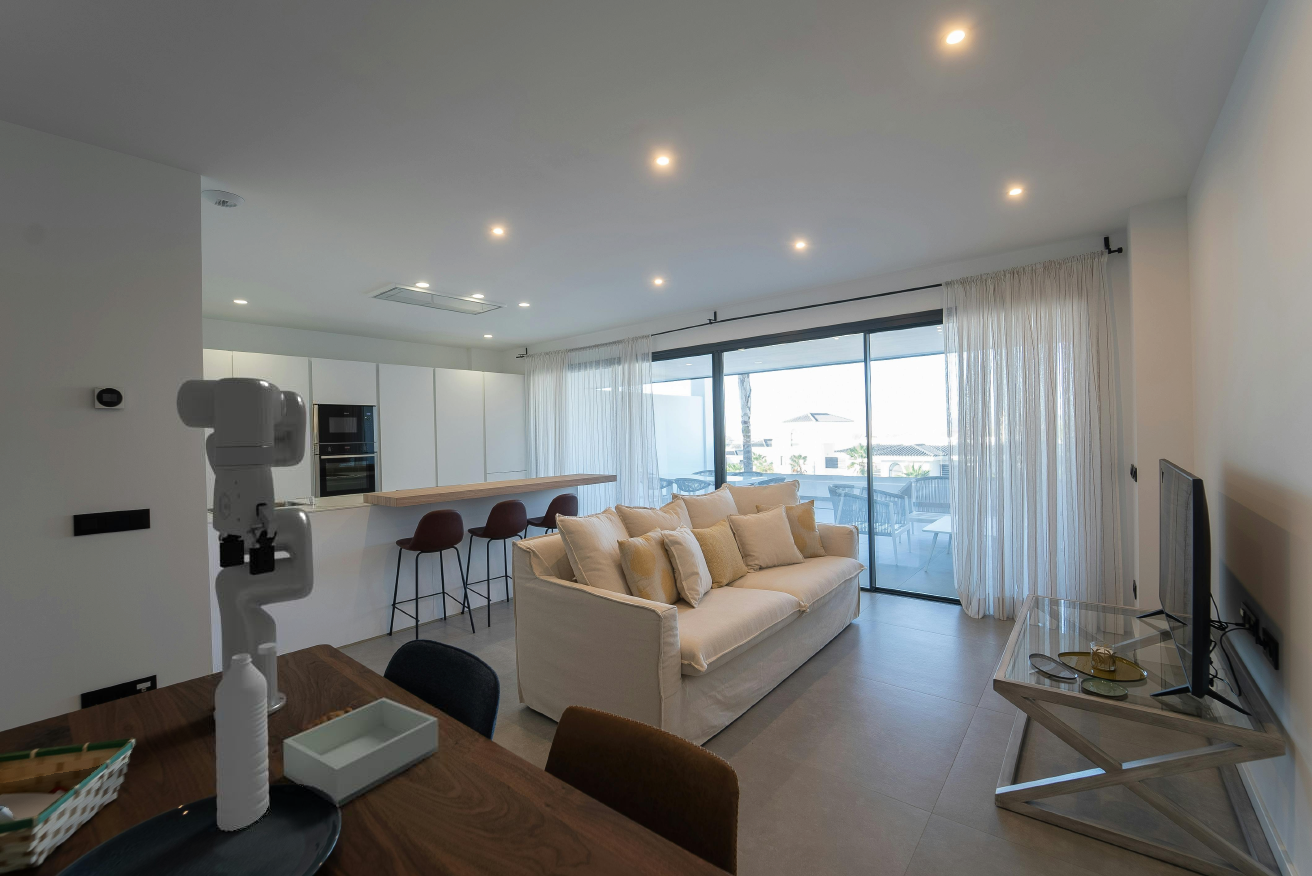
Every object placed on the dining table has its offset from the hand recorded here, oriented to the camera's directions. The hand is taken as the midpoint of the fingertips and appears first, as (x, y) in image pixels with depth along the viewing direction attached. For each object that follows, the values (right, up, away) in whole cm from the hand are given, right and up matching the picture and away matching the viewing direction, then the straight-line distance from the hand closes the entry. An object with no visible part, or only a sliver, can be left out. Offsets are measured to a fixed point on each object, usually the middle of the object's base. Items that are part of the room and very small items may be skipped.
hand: (246, 569), depth 89 cm
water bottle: (0, -38, 0) cm, 38 cm away
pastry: (-1, -38, +25) cm, 45 cm away
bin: (+11, -38, +14) cm, 42 cm away
